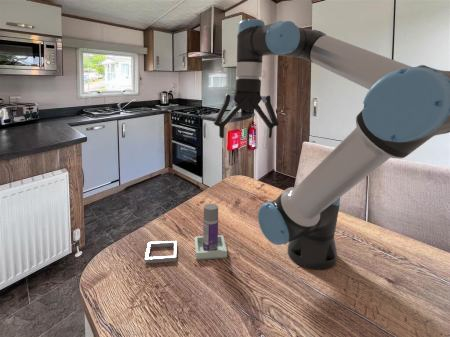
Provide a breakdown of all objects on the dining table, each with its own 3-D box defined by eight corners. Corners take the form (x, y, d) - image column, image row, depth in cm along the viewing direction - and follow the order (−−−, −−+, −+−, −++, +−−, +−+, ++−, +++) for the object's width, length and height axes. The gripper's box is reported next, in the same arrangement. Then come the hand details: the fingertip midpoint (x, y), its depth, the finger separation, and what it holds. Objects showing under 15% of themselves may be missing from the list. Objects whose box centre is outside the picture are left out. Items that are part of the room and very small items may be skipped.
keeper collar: (176, 244, 94) (176, 240, 94) (176, 261, 86) (176, 257, 85) (148, 246, 93) (148, 242, 92) (145, 263, 84) (144, 259, 84)
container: (218, 245, 94) (219, 204, 89) (216, 253, 89) (217, 210, 85) (204, 244, 94) (204, 203, 90) (201, 252, 90) (202, 209, 85)
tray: (222, 241, 97) (222, 235, 96) (226, 258, 88) (227, 251, 87) (194, 243, 96) (194, 236, 95) (196, 260, 87) (196, 252, 86)
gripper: (283, 79, 90) (278, 145, 96) (205, 76, 86) (205, 145, 92) (293, 79, 83) (286, 150, 89) (208, 76, 78) (207, 150, 85)
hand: (245, 147), depth 90 cm, fingers open, 13 cm apart
